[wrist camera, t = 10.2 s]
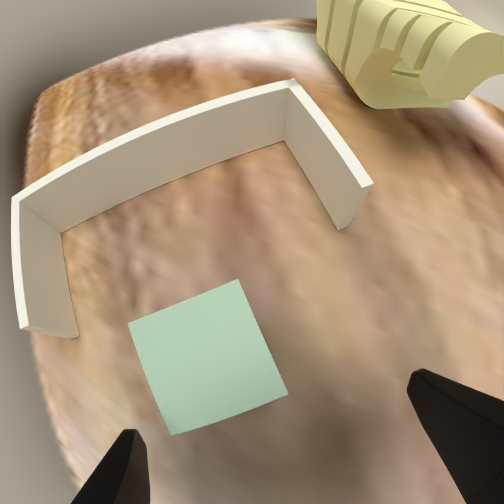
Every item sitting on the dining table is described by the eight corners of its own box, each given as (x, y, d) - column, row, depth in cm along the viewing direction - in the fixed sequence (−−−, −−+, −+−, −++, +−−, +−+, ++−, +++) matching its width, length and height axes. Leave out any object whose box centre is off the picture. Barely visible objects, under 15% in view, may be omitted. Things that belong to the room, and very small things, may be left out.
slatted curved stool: (289, 25, 37) (294, -71, 20) (374, 25, 38) (393, -56, 21) (387, 171, 27) (466, 22, 10) (482, 157, 28) (555, 62, 11)
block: (272, 373, 21) (288, 393, 10) (217, 395, 21) (171, 435, 9) (249, 319, 23) (237, 278, 11) (195, 341, 22) (127, 323, 10)
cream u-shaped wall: (347, 226, 25) (373, 183, 18) (71, 339, 22) (20, 329, 16) (288, 131, 29) (293, 78, 22) (52, 229, 26) (11, 197, 19)
